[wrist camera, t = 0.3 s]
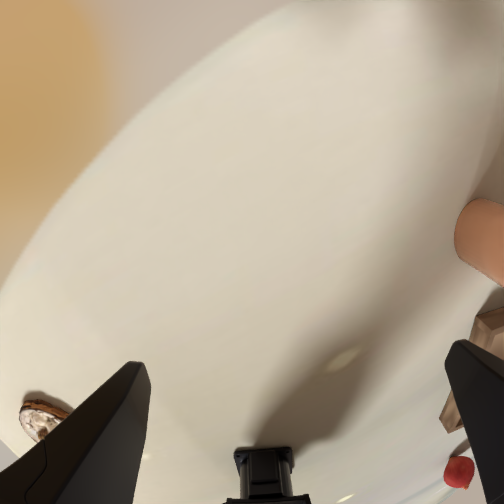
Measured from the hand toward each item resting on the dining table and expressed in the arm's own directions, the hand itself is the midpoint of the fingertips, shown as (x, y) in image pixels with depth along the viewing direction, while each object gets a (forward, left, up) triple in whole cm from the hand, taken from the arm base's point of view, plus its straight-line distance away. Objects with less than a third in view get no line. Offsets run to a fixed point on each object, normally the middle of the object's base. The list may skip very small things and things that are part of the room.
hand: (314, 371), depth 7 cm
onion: (-43, -30, -14) cm, 54 cm away
